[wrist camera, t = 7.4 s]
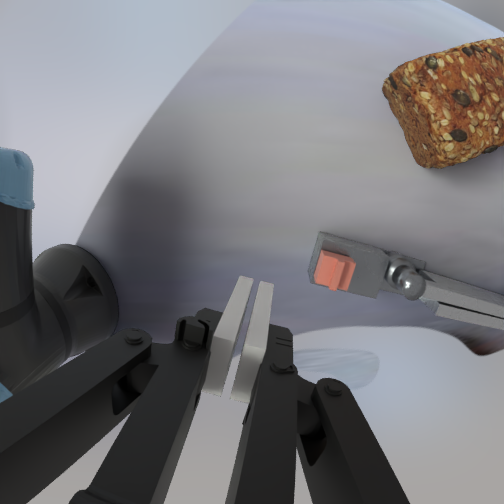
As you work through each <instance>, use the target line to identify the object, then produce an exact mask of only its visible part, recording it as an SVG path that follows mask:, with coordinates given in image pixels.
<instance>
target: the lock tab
mask: <svg viewBox="0 0 504 504" xmlns="http://www.w3.org/2000/svg"><path fill="white" fill-rule="evenodd" d="M355 266H356V263H355V262H354V260H353V259H352V258H351V257H347V256H343V255H340V254H336V253H332V252H328V251H324V250H321V253H320V256H319V260H318V263H317V266H316V270H315V273H314V279H315V283H317V284H321V285H325V286H328V287H329V289H330V290H334V291H336V290H337V288H338V289H342V290H346V291H347V289H348V286H349V284H350V281H351V278H352V275H353V272H354V269H355Z"/></svg>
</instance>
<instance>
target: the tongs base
mask: <svg viewBox="0 0 504 504" xmlns="http://www.w3.org/2000/svg"><path fill="white" fill-rule="evenodd" d="M321 250H324V251H328V252H332V253H336V254H340V255H343V256H347V257H351V258H352V259H353V260H354V262H355V263H356V266H355V269H354V272H353V275H352V278H351V281H350V284H349V286H348V289H347V291H346V290H342V289H338V288H337V290H341V291H345V292H349V293H354V294H358V295H362V296H366V297H370V298H375V299H376V297H377V294H378V292H379V289H380V290H384V291H388V292H392V293H397V294H401V295H403V294H402V293H401V292H400V290H399V289H398V288H397V287H396V286H395V285H394V284H393V282H392V274H393V271H394V270H395V269H396V268H397V267H398V266H400V265H408V266H409V267H411V268H412V269H413V270H414V271H415V272H417V273H419V271H420V269H421V270H423V269H424V266H425V263H426V262H425V261H421V260H418V259H415V258H411V257H408V256H404V255H401V254H399V253H398V252H395V251H387V250H384V249H380V248H377V247H373V246H370V245H366V244H363V243H359V242H356V241H352V240H348V239H345V238H341V237H337V236H334V235H330V234H326V233H322V232H319V233H318V237H317V241H316V244H315V248H314V251H313V255H312V258H311V261H310V265H309V268H308V273H309V278H310V282H311V283H312V284H316V285H321V284H317V283H315V279H314V273H315V270H316V266H317V263H318V260H319V256H320V253H321ZM321 286H325V285H321ZM325 287H328V286H325ZM419 299H420V300H421V301H422V302H423V303H424V304H425V305H426V306H427V307H428V308H429V309H430V310H431V311H432V312H433V313H434V315H436V316H440V317H445V318H449V319H454V320H458V321H463V322H468V323H472V324H477V325H482V326H487V327H491V328H496V329H501V330H504V318H502V317H498V316H494V315H490V314H487V313H483V312H479V311H475V310H471V309H467V308H464V307H460V306H456V305H452V304H448V303H444V302H441V301H437V300H433V299H429V298H425V297H422V296H421V297H420V298H419Z"/></svg>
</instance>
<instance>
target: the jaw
mask: <svg viewBox="0 0 504 504" xmlns="http://www.w3.org/2000/svg"><path fill="white" fill-rule="evenodd" d="M392 282H393V284H394V285H395V286H396V287H397V288H398V289H399V290H400V292H401V293H402V294H403V295H404V296H405V297H406V298H407V299H408V300H417V299H419V298H420V297H421V296H422V297H425V298H429V299H433V300H437V301H441V302H444V303H448V304H452V305H456V306H460V307H464V308H467V309H471V310H475V311H479V312H483V313H487V314H490V315H494V316H498V317H502V318H504V296H503V295H500V294H497V293H494V292H491V291H488V290H485V289H482V288H479V287H476V286H472V285H469V284H466V283H463V282H460V281H457V280H453V279H450V278H447V277H444V276H440V275H437V274H434V273H431V272H427V271H424V270H421V269H420V271H419V273H417V272H415V271H414V270H413V269H412V268H411V267H409V266H408V265H400V266H398V267H397V268H396V269H395V270H394V271H393V274H392Z"/></svg>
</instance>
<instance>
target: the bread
mask: <svg viewBox="0 0 504 504" xmlns="http://www.w3.org/2000/svg"><path fill="white" fill-rule="evenodd" d="M389 76H390V77H388V78H386V79H385V80H384V82H385V83H384V84H383V88H382V91H383V94H384V96H385V97H386V98H387V99H388V101H389V105H390V108H391V110H392V112H393V114H394V115H395V117H396V118H397V119H398V120H399V124H400V126H401V127H402V129H403V131H404V135H405V139H406V141H407V143H408V145H409V147H410V149H411V152H412V154H413V157H414V159H415V160H416V162H417V163H418V164H419V165H420V166H422V167H425V168H431V167H435V168H440V169H442V168H443V167H446V166H453V165H455V164H457V163H462V162H466V161H468V160H469V159H472V158H475V157H477V156H479V155H480V154H485V153H490V152H492V151H494V150H496V149H497V148H498V147H500V146H504V37H503V38H502V37H499V38H496V39H487V40H481V41H477V42H474V43H473V42H472V43H466V44H463V45H461V46H457V47H455V48H452V49H447V50H446V51H443V52H439V53H433V54H429V55H426V56H422V57H419V58H417V59H415V60H412V61H408V62H405V63H404V64H402V65H400V66H398V67H397V68H396V69H395V70H394V71H393V72H392V73H391V74H389Z"/></svg>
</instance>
